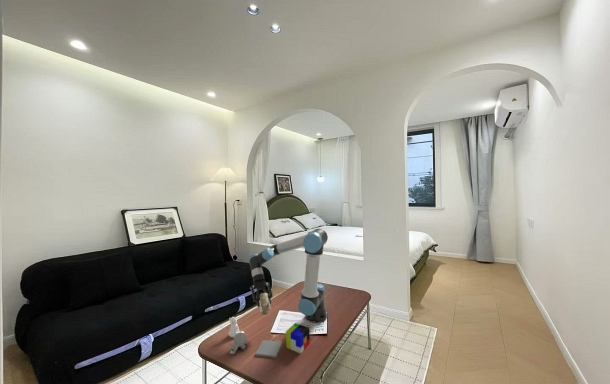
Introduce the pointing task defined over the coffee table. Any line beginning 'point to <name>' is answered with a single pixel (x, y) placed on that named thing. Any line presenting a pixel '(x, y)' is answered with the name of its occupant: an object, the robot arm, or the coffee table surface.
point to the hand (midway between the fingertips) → (265, 310)
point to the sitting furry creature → (234, 327)
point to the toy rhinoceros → (238, 342)
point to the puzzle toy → (297, 337)
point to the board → (268, 348)
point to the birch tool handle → (264, 303)
